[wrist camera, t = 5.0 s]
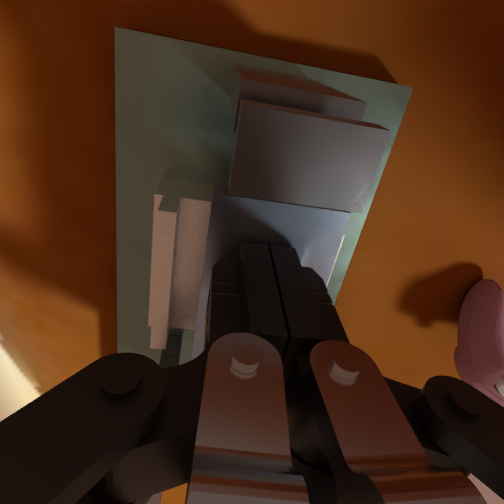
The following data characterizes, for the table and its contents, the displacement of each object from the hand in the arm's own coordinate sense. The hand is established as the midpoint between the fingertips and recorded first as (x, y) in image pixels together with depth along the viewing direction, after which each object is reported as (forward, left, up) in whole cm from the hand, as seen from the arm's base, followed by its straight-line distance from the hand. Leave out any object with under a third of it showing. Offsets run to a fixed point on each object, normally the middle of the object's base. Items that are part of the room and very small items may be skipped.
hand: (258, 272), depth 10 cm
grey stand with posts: (0, +5, -9) cm, 10 cm away
